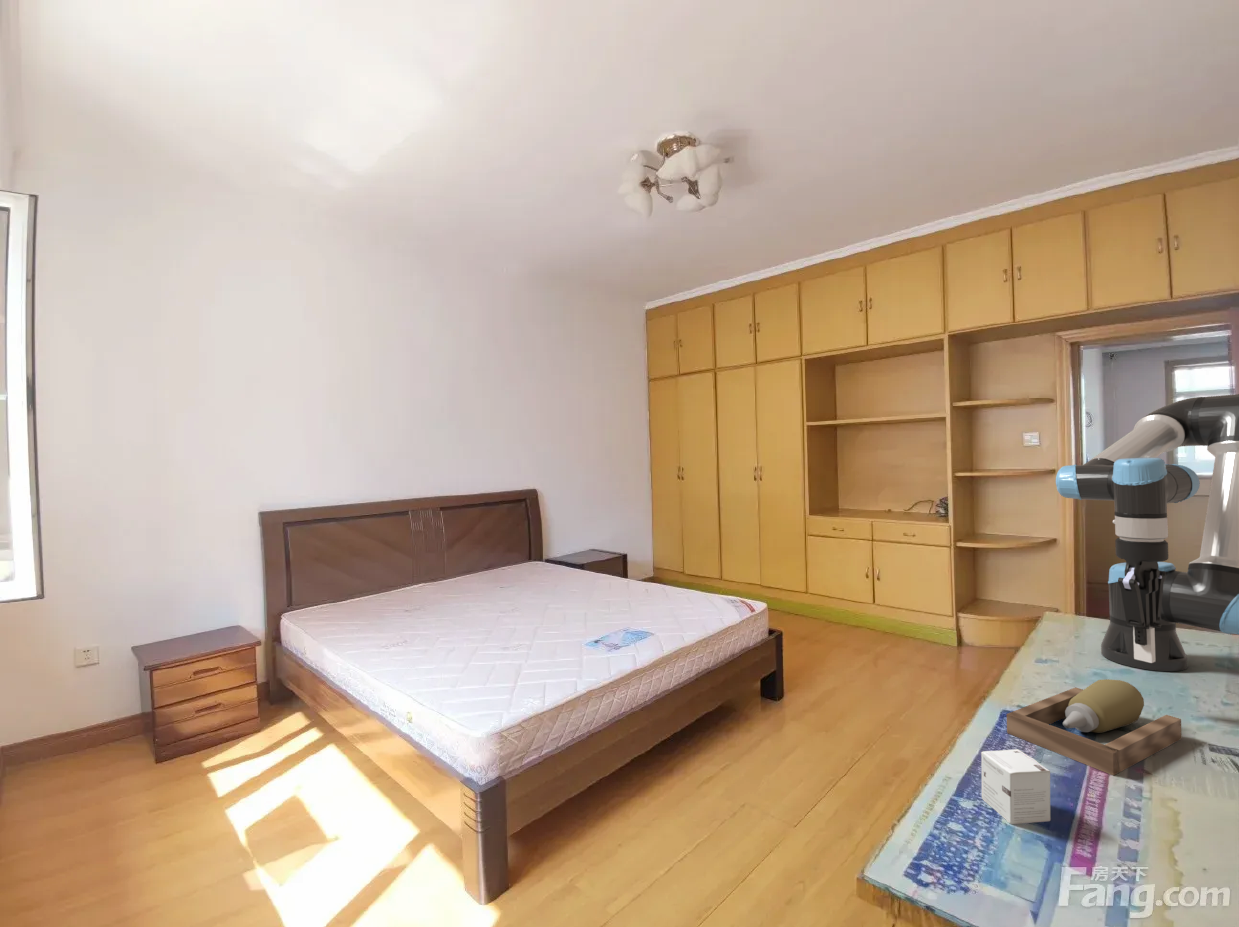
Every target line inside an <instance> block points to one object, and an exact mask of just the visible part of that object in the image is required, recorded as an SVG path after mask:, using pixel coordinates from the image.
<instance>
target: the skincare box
mask: <svg viewBox="0 0 1239 927" xmlns="http://www.w3.org/2000/svg"><path fill="white" fill-rule="evenodd" d="M980 755H981V757H980V758H981V761H980V762H981V799H982V800H983V801H984V802H985V803H986V804H987V805H988V806H990V808H992V810H994V811H995V812H996V813H998V814H999V815H1000V816H1001V817H1002V818H1004V820H1005V821H1007V822H1008V824H1011V825H1018V824H1019V825H1021V824H1031V823H1042V822H1043V823H1044V822H1050V821H1051V770H1049V769H1048V768H1047V767H1045V766H1044V765H1042V764H1040V763H1039V762H1038V761H1037V760H1036V759H1035V758H1033V757H1031V756H1029V755H1027V754H1026V753H1024V752H1023V751H1022V750H1020V749H1017V748H1016V749H1004V750H1003V749H1002V750H984V751H981V754H980Z"/></svg>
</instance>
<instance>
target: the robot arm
mask: <svg viewBox="0 0 1239 927" xmlns="http://www.w3.org/2000/svg"><path fill="white" fill-rule="evenodd" d="M1195 446H1196V447H1197V446H1203V447H1206V446H1207V448H1206V450H1207V452H1208V453H1210V454H1211V455H1212V456H1213V457H1214V463H1213V469H1212V474H1211V475H1212V476H1211V482H1210V483H1211V484H1210V488H1209V495H1208V501H1207V507H1206V512H1205V514H1206V515H1205V520H1204V527H1203V533H1202V539H1201V546H1200V547H1201V548H1200V552H1199V557H1198V558H1196V559H1194V560H1192V561H1190V562H1188V567H1187V571H1179V570H1177V567H1176V566H1175V564H1174V563H1172V562H1166V561H1167V560H1169V542H1167V540H1165V539H1167V538H1168V537H1169V527H1168V525H1169V524H1168V523H1169V522H1168V521H1169V520H1168V504H1177V503H1179V502H1180V503H1182V502H1183V501H1186V500H1188V499H1190V498H1192V497H1194V496H1195V494H1197V493H1198V492H1199V489H1200V478H1199V476H1198V475H1197V473H1196V472H1195V471H1194V470H1193V469H1191V468H1190V467H1188V466H1185V465H1181V464H1176V463H1175V464H1174V463H1172V464H1171V463H1168V464H1167V463H1166V462H1165V460H1164V459H1162V458H1160V457H1159V456H1160V455H1161V454H1163V453H1167V452H1171V451H1174V450H1176V449H1178V448H1181V447H1195ZM1055 476H1056V477H1055V485H1056V490H1057V492H1058V494H1059V495H1060V497H1061V496H1062V497H1063V498H1066V499H1074V500H1075V499H1076V500H1079V501H1083V500H1088V501H1089V500H1090V501H1091V500H1092V501H1111V502H1112V501H1113V502H1114V503H1113V504H1114V519H1113V520H1112V524H1114V530H1115V532H1114V533H1115V535H1116V536H1117V538H1116V539H1115V555H1116V557H1117V558H1119V559H1121V560H1124V561H1125V562H1120V563H1116V564H1115V563H1114V564H1113V565H1111V567H1110V568H1109V570H1108V571H1109V572H1108V581H1107V584H1108V602H1109V604H1108V605H1109V624H1108V627H1107V630H1106V632H1105V634H1104V637H1103V639H1102V642H1101V643H1100V644H1101V645H1100V650H1101V651H1100V652H1101V655H1102V657H1104V658H1105V659H1106V660H1109V661H1112V662H1114V663H1117V664H1120V665H1123V666H1128V667H1132V668H1137V669H1142V670H1150V671H1159V672H1179V671H1183V670H1187V668H1188V656H1187V654H1186V652H1185V650H1184V647H1183V645H1182V643H1181V640H1180V637H1179V636H1178V633H1177V627H1176V626H1177V624H1178V625H1179V624H1181V625H1186V626H1190V627H1196V628H1201V629H1208V630H1211V631H1212V630H1213V631H1216V632H1217V631H1218V632H1222V633H1224V634H1227V635H1229V634H1231V635H1238V636H1239V393H1233V394H1223V395H1211V396H1196V397H1189V398H1184V399H1181V400H1178V401H1175V402H1172V403H1169V404H1166V405H1164V406H1162V407H1160V408H1157V409H1154V410H1153V411H1152V412H1150V413H1148V414H1146V415H1145V416H1143V417H1142V418H1140V419H1139V420H1138V421H1137V422H1136V423H1135V425H1134V427H1133V429H1132V430H1131V431H1129V433H1128V432H1127V433H1126V434H1125V435H1124V436H1123V437H1121V438H1120V439H1118V440H1117V441H1115V442H1114V443H1112V444H1111V445H1109V447H1107V448H1105V449H1104V450H1103V451H1101V452H1099V453H1098V454H1097V455H1095V456H1094V457H1093V458H1091V459H1090V460H1088V461H1087V462H1085V463H1084V464H1080V465H1079V464H1072V465H1063V466H1061V468H1059V469H1058V470H1057V473H1056V475H1055Z"/></svg>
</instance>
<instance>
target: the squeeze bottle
mask: <svg viewBox="0 0 1239 927" xmlns="http://www.w3.org/2000/svg"><path fill="white" fill-rule="evenodd" d="M1144 700H1145V699H1144V697H1143V695H1142V693H1141V691H1139V689H1138V688H1136V687H1135V686H1134V685H1133V684H1131V683H1129V682H1127V681H1124V680H1121V679H1120V680H1119V679H1110V678H1109V679H1098V680H1096V681H1095V682H1093V683H1092V684H1089V686H1087V687H1086V688H1084V689H1083V691H1081V692H1080V693H1079V694H1077V695H1076V696H1074V697H1073V698H1072V699H1071V700H1070V702H1069V704H1068V707H1067V708H1066V710H1065V715H1066V718H1064V720H1063V722H1062V726H1063V727H1064V728H1066V729H1074V728H1075V729H1076V730H1077V731H1080V732H1082V733H1093V734H1102V733H1106V732H1109V731H1113V730H1115V729H1119V728H1121V727H1124V726H1129V725H1131V724H1133V723H1135V722H1137V721H1138V720H1139V718H1140V716H1141V715H1142V712H1143V709H1144V706H1145V702H1144Z"/></svg>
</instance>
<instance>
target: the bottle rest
mask: <svg viewBox="0 0 1239 927" xmlns="http://www.w3.org/2000/svg"><path fill="white" fill-rule="evenodd" d="M1083 690H1084V689H1083V688H1080V687H1075V686H1074V687H1073V688H1070V689H1068V690H1064V691H1062V692H1060V693H1057V694H1055V695H1052V696H1049V697H1047V698H1044V699H1041V700H1039V701H1037V702H1034V703H1031V704H1029V705H1026V706H1024V707H1020V708H1018V709H1016V710H1013V711H1011V712H1008V713H1006V734H1009V735H1011V736H1013V737H1015V738H1019V739H1020V740H1021V739H1022V740H1023V741H1026V742H1028V743H1031V744H1033V745H1036V746H1038V747H1041V748H1044V749H1045V750H1049V751H1051V752H1053V753H1056V754H1059V755H1061V756H1063V757H1066V758H1068V759H1071V760H1074V761H1076V762H1078V763H1081V764H1084V765H1086V766H1088V767H1091V768H1092V769H1096V770H1099V771H1101V772H1104V773H1106V774H1108V775H1111V776H1116V775H1117V774H1119V773H1122V772H1123V771H1125V770H1126V769H1129V768H1130V767H1132V766H1134V765H1136V764H1137V763H1140V762H1141V761H1144V760H1146V759H1147V758H1150V757H1151V756H1152V755H1154V754H1157V753H1159V752H1160V751H1162V750H1163V749H1167V747H1169V746H1171V745H1173V744H1175V743H1176V742H1177V743H1178V742H1179V741H1181V740H1182V719H1181V718H1179V717H1175V716H1173V715H1172V716H1171V715H1170V714H1169V715H1168V714H1164V715H1162V716H1161V717H1159V718H1156V719H1154V720H1153V721H1151V722H1147V724H1144V725H1143V726H1140V727H1138V728H1136V729H1134V730H1131V731H1130V732H1128V733H1126V734H1123V735H1121V736H1120V737H1117V738H1115V739H1113V740H1111V741H1110V742H1107V743H1105V744H1103V743H1101V742H1098V741H1096V740H1092V739H1090V738H1087V737H1084V736H1082V735H1079V734H1075V733H1074V732H1071V731H1068V730H1065V729H1062V728H1060V727H1057V726H1055V725H1052V724H1054V722H1055V723H1056V721H1057V722H1059V721H1062V720H1065V719H1066V715H1065V710H1066V708H1067V707H1068V704H1069V702H1070V700H1071V699H1072V698H1073V697H1074V696H1076V695H1077V694H1079V693H1080V692H1081V691H1083ZM1061 719H1062V720H1061ZM1058 720H1059V721H1058ZM1049 724H1050V725H1049Z"/></svg>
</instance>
